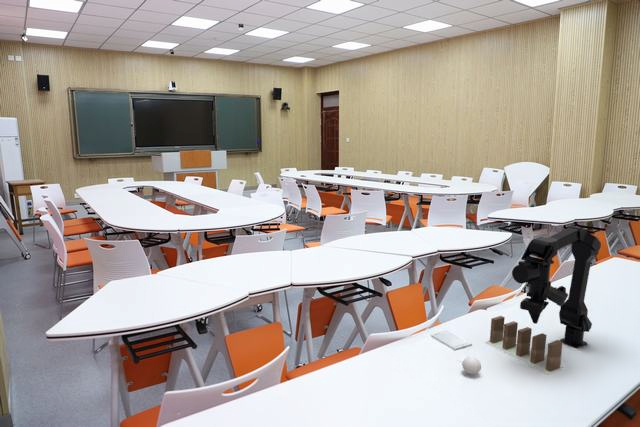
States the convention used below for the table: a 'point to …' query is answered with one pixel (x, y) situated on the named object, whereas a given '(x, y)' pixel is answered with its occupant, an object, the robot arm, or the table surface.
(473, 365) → the white sphere
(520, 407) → the table surface
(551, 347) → the domino
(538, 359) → the domino
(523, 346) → the domino
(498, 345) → the mat
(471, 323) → the table surface
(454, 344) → the hard drive
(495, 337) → the domino
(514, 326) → the domino
